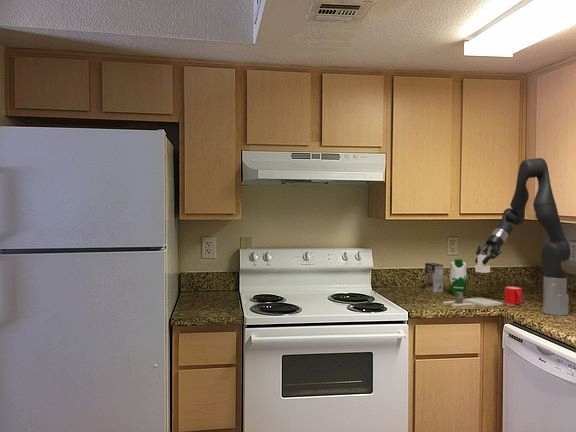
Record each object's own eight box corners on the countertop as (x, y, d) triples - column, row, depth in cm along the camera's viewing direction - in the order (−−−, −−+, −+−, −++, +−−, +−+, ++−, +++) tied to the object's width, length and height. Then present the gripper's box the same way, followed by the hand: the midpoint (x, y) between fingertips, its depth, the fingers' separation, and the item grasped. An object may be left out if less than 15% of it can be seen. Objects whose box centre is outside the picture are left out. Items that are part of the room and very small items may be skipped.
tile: (502, 304, 221) (502, 302, 221) (484, 306, 216) (484, 304, 216) (480, 299, 234) (480, 297, 234) (463, 300, 229) (463, 299, 229)
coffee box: (424, 289, 260) (424, 263, 260) (433, 289, 262) (433, 262, 262) (433, 292, 252) (434, 264, 251) (443, 291, 254) (443, 264, 253)
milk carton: (450, 295, 244) (450, 259, 244) (449, 292, 253) (449, 258, 253) (467, 296, 242) (467, 260, 241) (465, 292, 251) (465, 258, 250)
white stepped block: (490, 272, 224) (490, 255, 223) (482, 272, 222) (483, 256, 221) (482, 270, 228) (482, 254, 228) (475, 271, 226) (475, 255, 226)
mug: (512, 306, 218) (512, 290, 217) (502, 300, 230) (502, 286, 229) (528, 306, 217) (528, 290, 217) (517, 301, 229) (517, 286, 229)
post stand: (475, 306, 216) (475, 293, 216) (458, 308, 212) (458, 295, 212) (459, 302, 226) (459, 289, 226) (442, 304, 222) (442, 291, 222)
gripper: (482, 233, 234) (465, 256, 229) (505, 234, 221) (487, 259, 216) (489, 242, 236) (472, 266, 232) (512, 244, 223) (494, 269, 219)
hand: (479, 262), depth 224 cm, fingers closed on white stepped block, 4 cm apart
